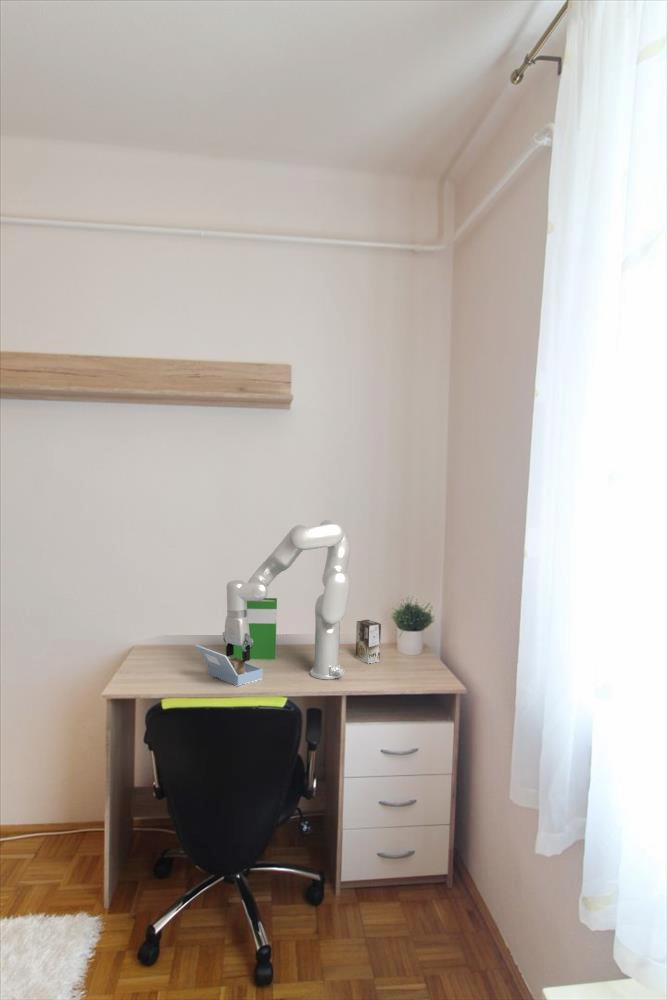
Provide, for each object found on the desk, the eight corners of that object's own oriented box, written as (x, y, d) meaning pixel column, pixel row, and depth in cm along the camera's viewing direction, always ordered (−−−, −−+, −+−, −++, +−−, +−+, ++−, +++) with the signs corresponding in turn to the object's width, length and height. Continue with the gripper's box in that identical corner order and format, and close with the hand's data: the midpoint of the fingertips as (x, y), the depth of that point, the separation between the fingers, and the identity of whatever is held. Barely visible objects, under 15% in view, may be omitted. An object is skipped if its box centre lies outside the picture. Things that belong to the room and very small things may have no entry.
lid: (226, 655, 238) (224, 656, 237) (237, 675, 242) (236, 676, 242) (196, 644, 250) (195, 645, 250) (208, 663, 255) (207, 664, 254)
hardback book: (232, 658, 275) (233, 601, 273) (233, 653, 282) (234, 597, 281) (275, 659, 276) (276, 602, 275) (275, 653, 284) (276, 598, 282)
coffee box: (380, 662, 277) (381, 623, 276) (368, 664, 273) (369, 625, 272) (367, 656, 285) (368, 618, 283) (354, 658, 281) (356, 620, 280)
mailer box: (262, 679, 251) (263, 668, 251) (237, 686, 243) (237, 675, 242) (232, 667, 264) (233, 657, 263) (207, 674, 255) (208, 664, 255)
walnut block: (234, 678, 250) (234, 662, 249) (225, 675, 253) (226, 659, 253) (244, 675, 253) (244, 660, 253) (236, 672, 257) (236, 657, 256)
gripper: (215, 611, 255) (216, 655, 256) (244, 619, 243) (244, 665, 244) (230, 608, 260) (231, 651, 262) (259, 615, 248) (260, 660, 250)
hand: (238, 658), depth 253 cm, fingers open, 9 cm apart
